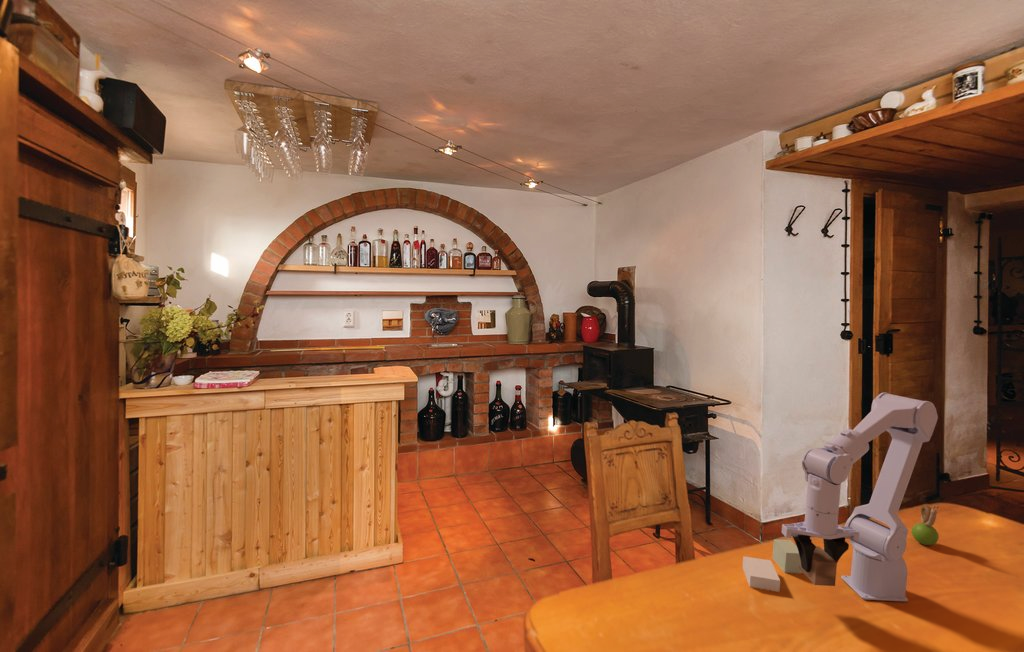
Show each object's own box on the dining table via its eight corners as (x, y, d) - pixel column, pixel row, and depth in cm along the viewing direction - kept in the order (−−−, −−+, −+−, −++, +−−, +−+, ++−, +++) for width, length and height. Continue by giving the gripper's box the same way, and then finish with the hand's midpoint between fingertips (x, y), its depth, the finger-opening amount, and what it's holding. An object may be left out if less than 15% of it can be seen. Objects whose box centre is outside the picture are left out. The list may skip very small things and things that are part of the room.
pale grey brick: (770, 572, 114) (770, 560, 114) (779, 593, 106) (780, 580, 106) (742, 568, 116) (743, 556, 115) (749, 588, 108) (750, 575, 108)
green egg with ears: (918, 549, 125) (923, 504, 124) (906, 536, 131) (910, 494, 130) (944, 553, 123) (949, 508, 122) (930, 540, 129) (935, 497, 128)
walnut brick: (817, 568, 104) (819, 546, 103) (834, 586, 98) (837, 562, 97) (798, 567, 104) (800, 545, 104) (814, 585, 98) (816, 561, 98)
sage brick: (788, 559, 119) (790, 540, 119) (802, 573, 113) (803, 553, 113) (772, 558, 120) (773, 539, 119) (784, 573, 114) (786, 552, 113)
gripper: (845, 500, 103) (840, 560, 104) (776, 497, 104) (772, 557, 105) (868, 516, 96) (862, 580, 97) (793, 513, 97) (788, 577, 98)
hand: (816, 570), depth 101 cm, fingers closed on walnut brick, 4 cm apart
